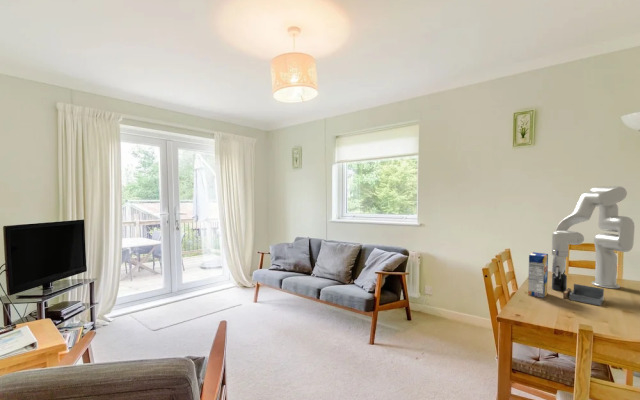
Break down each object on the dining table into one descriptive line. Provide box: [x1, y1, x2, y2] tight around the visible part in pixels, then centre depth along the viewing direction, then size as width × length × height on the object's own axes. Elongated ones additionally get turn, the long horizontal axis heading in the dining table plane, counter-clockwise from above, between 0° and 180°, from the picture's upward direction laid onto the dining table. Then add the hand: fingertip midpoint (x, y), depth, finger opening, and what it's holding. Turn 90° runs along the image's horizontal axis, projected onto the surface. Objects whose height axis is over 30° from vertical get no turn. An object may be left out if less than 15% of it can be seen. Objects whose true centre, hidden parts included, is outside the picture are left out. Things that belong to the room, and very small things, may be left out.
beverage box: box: [527, 251, 549, 299], centre depth 172 cm, size 7×11×22 cm, turn 135°
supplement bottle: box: [551, 270, 568, 292], centre depth 180 cm, size 7×7×12 cm
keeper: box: [568, 283, 605, 307], centre depth 163 cm, size 12×12×6 cm
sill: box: [562, 287, 572, 300], centre depth 169 cm, size 12×1×3 cm, turn 132°
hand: (559, 283), depth 180 cm, fingers closed on supplement bottle, 6 cm apart
